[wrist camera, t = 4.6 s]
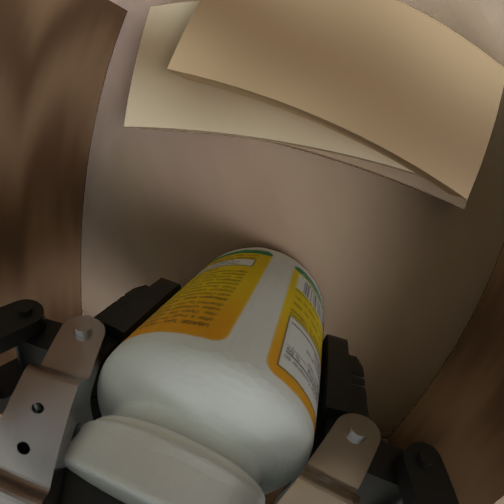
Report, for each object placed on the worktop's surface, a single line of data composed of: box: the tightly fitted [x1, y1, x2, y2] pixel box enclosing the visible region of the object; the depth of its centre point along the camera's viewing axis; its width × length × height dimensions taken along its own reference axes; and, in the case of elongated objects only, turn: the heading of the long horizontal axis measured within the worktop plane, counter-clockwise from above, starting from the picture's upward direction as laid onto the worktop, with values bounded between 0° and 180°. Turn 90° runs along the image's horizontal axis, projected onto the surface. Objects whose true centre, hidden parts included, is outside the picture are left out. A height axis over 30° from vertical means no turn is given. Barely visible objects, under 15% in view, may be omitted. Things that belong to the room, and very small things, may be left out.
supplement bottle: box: [64, 247, 324, 504], centre depth 8 cm, size 5×5×10 cm
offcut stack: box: [124, 0, 504, 210], centre depth 7 cm, size 6×12×4 cm, turn 76°
